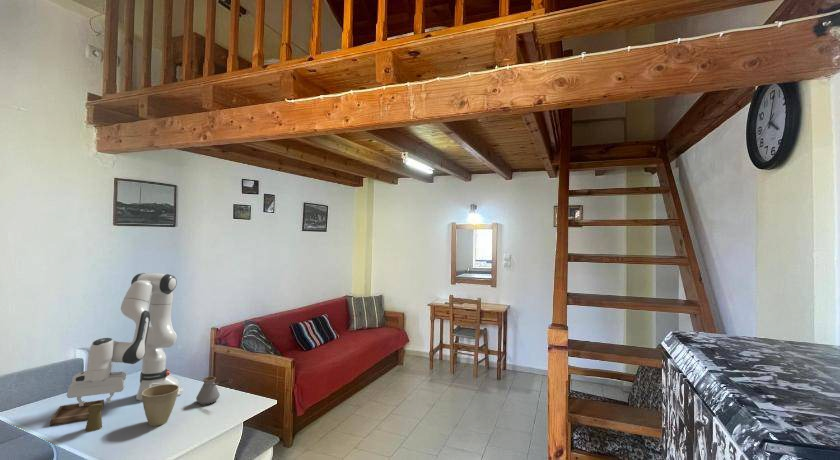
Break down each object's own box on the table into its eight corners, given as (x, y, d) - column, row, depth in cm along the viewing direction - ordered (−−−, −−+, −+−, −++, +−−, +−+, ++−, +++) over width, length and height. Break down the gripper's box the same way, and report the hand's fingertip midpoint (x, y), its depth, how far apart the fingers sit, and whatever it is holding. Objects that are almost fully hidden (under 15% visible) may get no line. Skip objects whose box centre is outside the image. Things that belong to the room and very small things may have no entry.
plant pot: (139, 420, 178) (142, 387, 179) (175, 413, 187) (177, 382, 188) (138, 433, 166) (141, 398, 167) (177, 425, 175) (179, 391, 176)
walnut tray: (103, 405, 192) (104, 399, 192) (97, 418, 178) (97, 412, 178) (59, 411, 183) (60, 405, 183) (49, 426, 169) (50, 419, 169)
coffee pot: (190, 404, 198) (192, 376, 199) (208, 396, 209) (210, 370, 210) (220, 410, 192) (222, 382, 193) (237, 402, 203) (239, 375, 204)
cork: (91, 432, 165) (94, 408, 166) (81, 430, 166) (83, 406, 167) (105, 426, 171) (107, 402, 172) (95, 424, 172) (97, 401, 173)
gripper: (127, 369, 178) (124, 397, 177) (71, 374, 167) (67, 405, 166) (125, 373, 173) (122, 402, 172) (67, 378, 162) (63, 410, 161)
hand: (94, 404), depth 169 cm, fingers open, 8 cm apart
